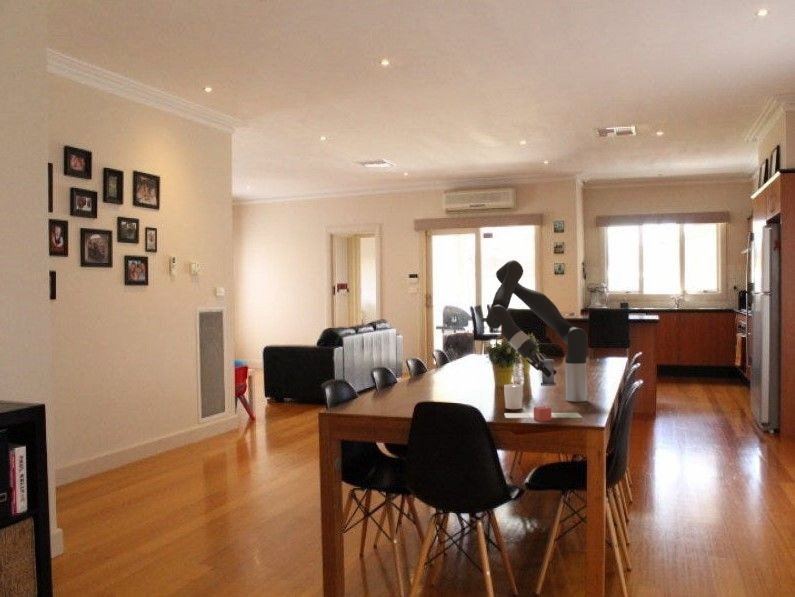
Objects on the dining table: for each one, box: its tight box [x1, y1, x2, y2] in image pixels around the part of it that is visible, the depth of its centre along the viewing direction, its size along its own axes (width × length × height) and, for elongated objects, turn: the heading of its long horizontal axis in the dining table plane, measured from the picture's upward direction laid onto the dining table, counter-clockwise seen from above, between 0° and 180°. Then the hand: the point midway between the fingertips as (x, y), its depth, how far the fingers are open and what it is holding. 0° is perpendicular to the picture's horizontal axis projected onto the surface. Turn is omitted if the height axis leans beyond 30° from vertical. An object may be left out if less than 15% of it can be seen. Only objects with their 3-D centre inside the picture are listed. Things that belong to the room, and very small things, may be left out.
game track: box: [503, 412, 583, 419], centre depth 273 cm, size 10×30×1 cm, turn 85°
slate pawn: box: [540, 358, 557, 387], centre depth 271 cm, size 6×6×10 cm
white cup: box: [503, 383, 523, 410], centre depth 292 cm, size 8×8×10 cm
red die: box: [533, 405, 552, 422], centre depth 264 cm, size 5×5×6 cm
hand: (552, 374), depth 270 cm, fingers closed on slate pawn, 4 cm apart
